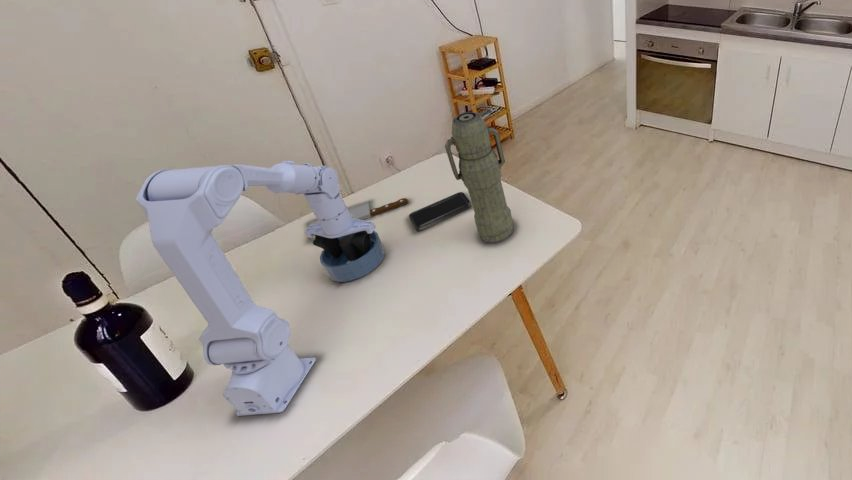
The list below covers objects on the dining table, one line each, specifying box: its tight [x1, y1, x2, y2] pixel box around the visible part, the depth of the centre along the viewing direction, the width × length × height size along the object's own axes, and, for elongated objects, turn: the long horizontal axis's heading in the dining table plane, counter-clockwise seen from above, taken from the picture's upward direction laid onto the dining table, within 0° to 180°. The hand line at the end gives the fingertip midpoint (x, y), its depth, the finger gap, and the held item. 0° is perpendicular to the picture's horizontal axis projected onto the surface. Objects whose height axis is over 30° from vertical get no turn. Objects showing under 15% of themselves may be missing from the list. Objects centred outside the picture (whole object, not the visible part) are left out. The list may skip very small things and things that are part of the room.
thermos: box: [444, 111, 515, 245], centre depth 100 cm, size 9×12×35 cm
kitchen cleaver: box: [308, 197, 409, 242], centre depth 115 cm, size 24×1×10 cm
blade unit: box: [339, 236, 363, 264], centre depth 98 cm, size 6×4×7 cm, turn 3°
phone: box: [408, 191, 472, 232], centre depth 115 cm, size 8×1×15 cm
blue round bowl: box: [319, 230, 386, 283], centre depth 99 cm, size 12×12×6 cm
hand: (353, 254), depth 99 cm, fingers open, 6 cm apart
